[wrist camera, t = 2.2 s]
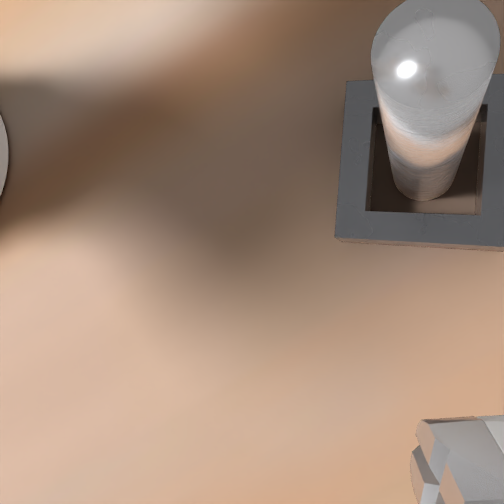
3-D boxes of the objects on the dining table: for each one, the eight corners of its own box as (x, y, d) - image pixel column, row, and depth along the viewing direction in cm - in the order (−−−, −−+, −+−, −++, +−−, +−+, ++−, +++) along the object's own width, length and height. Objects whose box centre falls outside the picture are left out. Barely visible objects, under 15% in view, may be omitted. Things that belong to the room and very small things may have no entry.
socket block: (341, 242, 31) (334, 237, 28) (352, 100, 31) (346, 81, 28) (502, 251, 28) (512, 247, 25) (512, 94, 28) (523, 72, 25)
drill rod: (384, 191, 30) (354, 94, 15) (404, 136, 30) (393, -18, 15) (443, 207, 29) (475, 121, 14) (464, 150, 29) (518, -1, 14)
